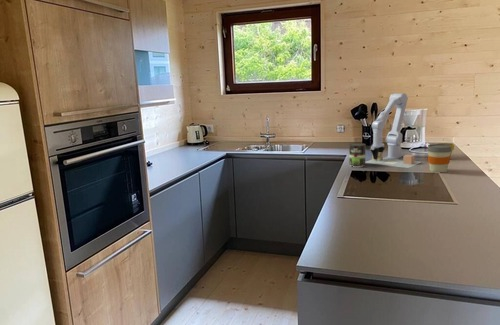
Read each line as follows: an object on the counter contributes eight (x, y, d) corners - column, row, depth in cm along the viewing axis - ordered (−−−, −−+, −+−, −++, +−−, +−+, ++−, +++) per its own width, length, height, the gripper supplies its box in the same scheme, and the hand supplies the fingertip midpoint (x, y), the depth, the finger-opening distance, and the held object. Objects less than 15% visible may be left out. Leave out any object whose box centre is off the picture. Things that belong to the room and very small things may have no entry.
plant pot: (449, 156, 257) (450, 142, 255) (456, 160, 247) (456, 145, 245) (433, 157, 258) (434, 143, 256) (439, 160, 248) (440, 145, 246)
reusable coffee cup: (453, 173, 216) (454, 147, 212) (429, 173, 218) (430, 148, 215) (446, 168, 228) (448, 143, 224) (424, 168, 230) (425, 144, 227)
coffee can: (363, 167, 241) (363, 145, 238) (347, 166, 246) (347, 145, 243) (367, 164, 250) (367, 143, 247) (351, 163, 254) (351, 142, 251)
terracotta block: (406, 162, 246) (406, 154, 245) (414, 163, 243) (414, 155, 242) (403, 163, 243) (403, 155, 242) (411, 164, 240) (411, 156, 239)
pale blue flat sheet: (378, 157, 266) (378, 157, 266) (421, 162, 245) (422, 161, 245) (363, 163, 253) (363, 162, 253) (408, 168, 232) (408, 167, 231)
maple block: (375, 159, 261) (376, 151, 260) (382, 159, 257) (382, 152, 256) (372, 160, 257) (372, 153, 256) (379, 161, 254) (379, 153, 253)
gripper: (377, 136, 262) (377, 156, 265) (366, 139, 252) (366, 159, 255) (387, 137, 257) (386, 157, 260) (376, 140, 247) (376, 161, 250)
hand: (377, 158), depth 257 cm, fingers closed on maple block, 5 cm apart
